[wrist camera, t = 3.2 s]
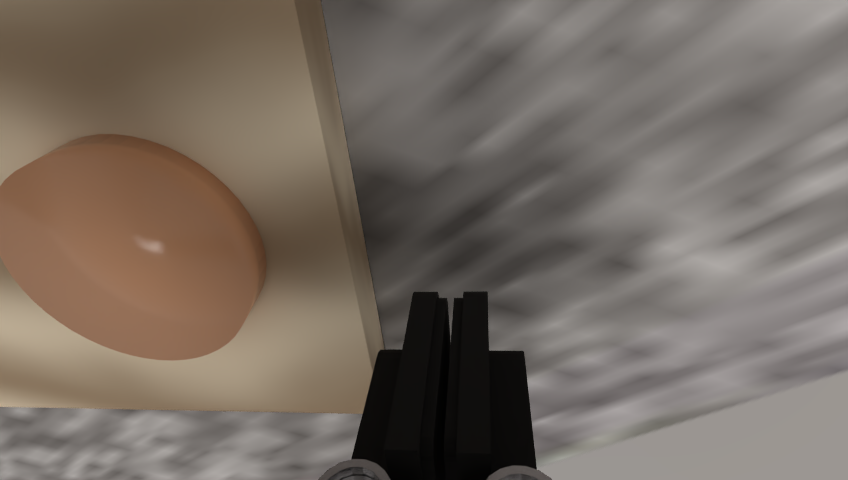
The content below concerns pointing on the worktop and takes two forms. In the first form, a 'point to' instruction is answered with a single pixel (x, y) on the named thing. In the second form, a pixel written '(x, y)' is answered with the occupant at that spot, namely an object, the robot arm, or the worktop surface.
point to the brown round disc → (132, 246)
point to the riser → (226, 159)
